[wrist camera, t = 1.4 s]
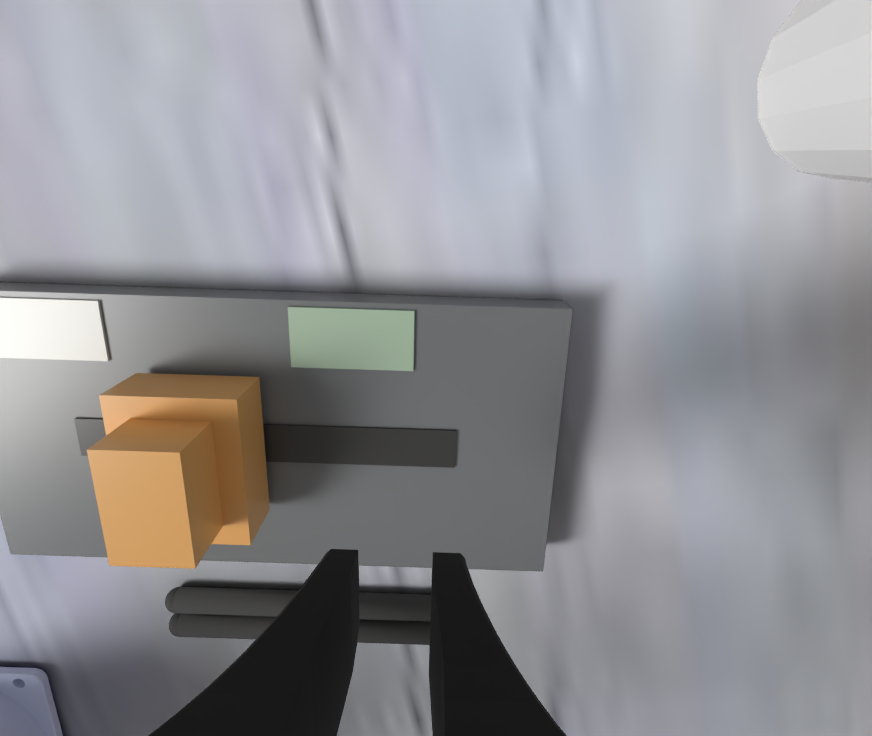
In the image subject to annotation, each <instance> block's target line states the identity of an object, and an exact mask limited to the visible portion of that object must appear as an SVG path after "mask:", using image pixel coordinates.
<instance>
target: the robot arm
mask: <svg viewBox="0 0 872 736" xmlns="http://www.w3.org/2000/svg"><path fill="white" fill-rule="evenodd" d="M359 625H360V617H359V563H358V550H349V549H330V550H329V551H328V552H327V553H326V554H325V555H324V557H323V558H322V560H321V561H320V563H319V564H318V565H317V567H316V568H315V569H314V571H313V572H312V574H311V575H310V576H309V578H308V579H307V580H306V581H305V583H304V584H303V585H302V587H301V588H300V589H299V591H298V592H297V593H296V594H295V595H294V597H293V598H292V599H291V600H290V601H289V603H288V604H287V605H286V606H285V608H284V609H283V610H282V611H281V612H280V614H279V615H278V616H277V617H276V618H275V619H274V621H273V622H272V623H271V624H270V625H269V626H268V627H267V628H266V629H265V630H264V631H263V633H262V634H261V635H260V636H259V637H258V638H257V639H256V640H255V641H254V642H253V643H252V644H251V646H250V647H249V648H248V649H247V650H246V651H245V652H244V653H243V654H242V655H241V656H240V657H239V658H238V659H237V660H236V661H235V662H234V663H233V664H232V665H231V666H230V667H229V668H228V669H227V670H226V671H225V672H223V673H222V674H221V675H220V676H219V677H218V678H217V679H216V680H215V681H214V682H213V683H212V684H210V685H209V686H208V687H207V688H206V689H205V690H204V691H203V692H201V693H200V694H199V695H198V696H197V697H196V698H194V699H193V700H192V701H191V702H190V703H188V704H187V705H186V706H185V707H184V708H183V709H181V710H180V711H179V712H178V713H177V714H175V715H174V716H173V717H172V718H170V719H169V720H168V721H167V722H166V723H164V724H163V725H162V726H160V727H159V728H158V729H157V730H155V731H154V732H153V733H151V734H150V735H149V736H337V732H338V728H339V724H340V720H341V716H342V712H343V708H344V704H345V700H346V696H347V692H348V688H349V684H350V680H351V676H352V672H353V666H354V659H355V653H356V646H357V639H358V632H359ZM429 682H430V698H431V714H432V730H433V736H566V734H565V733H564V732H563V731H562V730H561V729H560V727H559V726H558V725H557V724H556V722H555V721H554V720H553V718H552V717H551V716H550V714H549V713H548V712H547V710H546V709H545V708H544V706H543V705H542V704H541V702H540V701H539V700H538V698H537V697H536V695H535V694H534V692H533V691H532V690H531V688H530V687H529V685H528V684H527V682H526V681H525V679H524V678H523V676H522V675H521V673H520V672H519V670H518V669H517V667H516V665H515V664H514V662H513V661H512V659H511V657H510V656H509V654H508V652H507V650H506V649H505V647H504V645H503V644H502V642H501V640H500V638H499V636H498V635H497V633H496V631H495V629H494V627H493V625H492V623H491V621H490V619H489V617H488V615H487V613H486V611H485V609H484V607H483V605H482V603H481V601H480V599H479V596H478V594H477V592H476V589H475V587H474V585H473V582H472V579H471V577H470V574H469V571H468V568H467V564H466V560H465V557H464V556H463V555H462V554H461V553H442V552H433V561H432V591H431V620H430V654H429ZM0 736H63V734H62V730H61V726H60V723H59V719H58V715H57V711H56V707H55V704H54V700H53V696H52V692H51V688H50V684H49V681H48V677H47V675H46V673H45V672H44V671H43V670H41V669H38V668H19V667H0Z"/></svg>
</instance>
